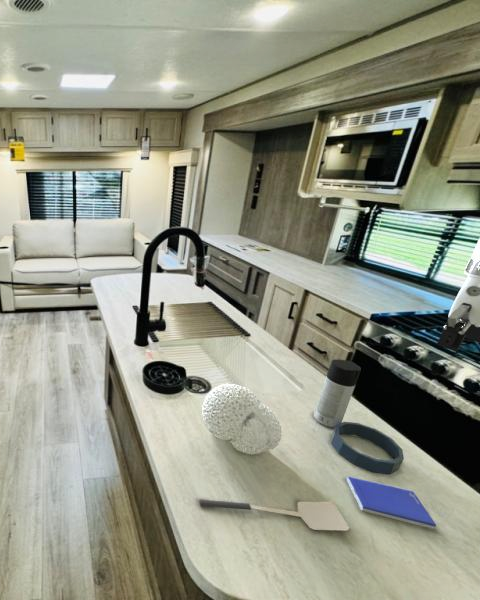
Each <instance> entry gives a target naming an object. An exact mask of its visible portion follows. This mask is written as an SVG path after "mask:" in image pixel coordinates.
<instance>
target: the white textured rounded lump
mask: <svg viewBox="0 0 480 600" xmlns="http://www.w3.org/2000/svg"><path fill="white" fill-rule="evenodd" d="M201 409H202V411H201V414H202V415H201V416H202V419H203V422H204V425H205V426H206V427H207V430H208V431H209V432H210V433H212V434H213V436H215V438H217V439H219V440H222V441H224V442H227V441H229V440H230V441H229V442H230V444H232V446H233V448H234V449H235V450H236V451H238V452H240V453H243V454H247V455H258V454H261V453H264V452H266V451H269V450H274V448H276V447H277V446H279V443H280V442H281V439H282V432H283V431H282V425H281V422H280V420H279V418H278V416H276V414H275V413H274V412H273V410H271V408H270V407H269V406H267V405H266V404H264V403H263V404H262V403H261V400H260V399H259V397H258V396H257V395H256V394H255V392H253V391H252V390H251V389H249V388H247V387H245V386H242V385H240V384H237V383H222V384H220V385H219V384H218V385H217V386H214V388H212V389H210V391H209V392H208V393H207V395H206V396H205V398H204V400H203V403H202V407H201Z"/></svg>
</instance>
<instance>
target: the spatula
mask: <svg viewBox="0 0 480 600" xmlns="http://www.w3.org/2000/svg"><path fill="white" fill-rule="evenodd" d="M198 503H199V506H202V507H212V508H222V509H223V508H225V509H235V510H246V511H247V510H248V511H252V510H257V511H258V510H259V511H262V512H263V511H264V512H270V513H274V514H279V515H286V516H292V517H298V518H300V519H301V520H302V521H303V522H304V523H305V524H306V525H307V527H309V529H311V530H313V531H343V532H346V531H349V530H350V527H349V525H348V524H347V522H346V520H345V519H344V517H343V516H342V514H341V512H340V511H339V508H337V505H336V504H335V503H333V502H331V501H298V502H297V505H296V506H297V511H293V510H287V509H279V508H272V507H265V506H260V505H259V506H258V505H252V504H250V503H248V502H247V503H246V502H235V501H222V500H210V499H199V500H198Z"/></svg>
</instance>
